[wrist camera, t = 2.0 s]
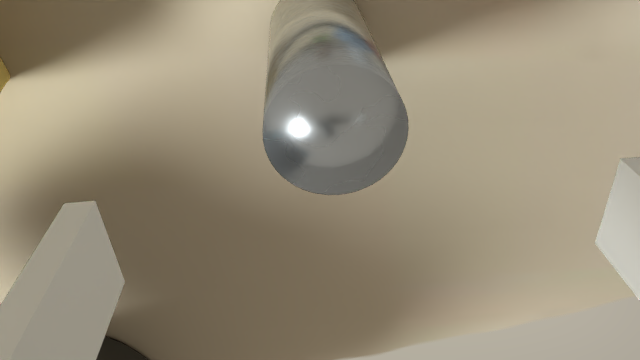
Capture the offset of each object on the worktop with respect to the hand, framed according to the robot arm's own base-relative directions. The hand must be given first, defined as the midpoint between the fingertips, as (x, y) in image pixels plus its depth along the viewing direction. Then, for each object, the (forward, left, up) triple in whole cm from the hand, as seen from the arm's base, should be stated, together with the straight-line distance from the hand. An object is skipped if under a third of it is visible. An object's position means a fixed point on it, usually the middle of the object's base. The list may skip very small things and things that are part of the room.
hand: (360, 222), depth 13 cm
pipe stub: (0, 0, -17) cm, 17 cm away
